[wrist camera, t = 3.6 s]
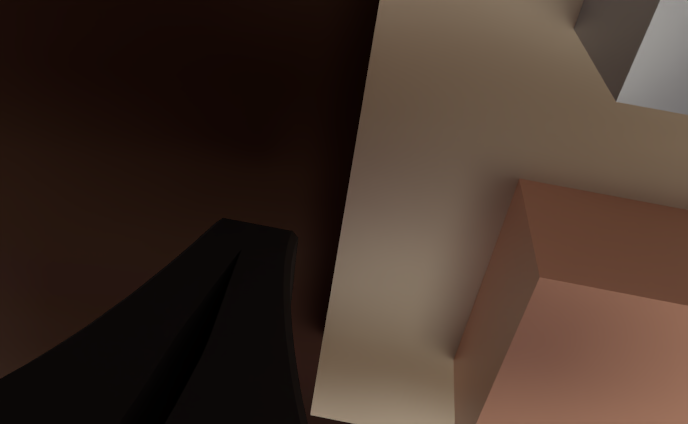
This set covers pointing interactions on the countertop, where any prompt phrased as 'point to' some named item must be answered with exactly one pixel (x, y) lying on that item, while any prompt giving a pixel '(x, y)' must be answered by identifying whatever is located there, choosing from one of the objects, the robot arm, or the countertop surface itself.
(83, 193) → the countertop surface
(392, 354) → the birch board
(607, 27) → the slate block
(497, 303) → the terracotta block
